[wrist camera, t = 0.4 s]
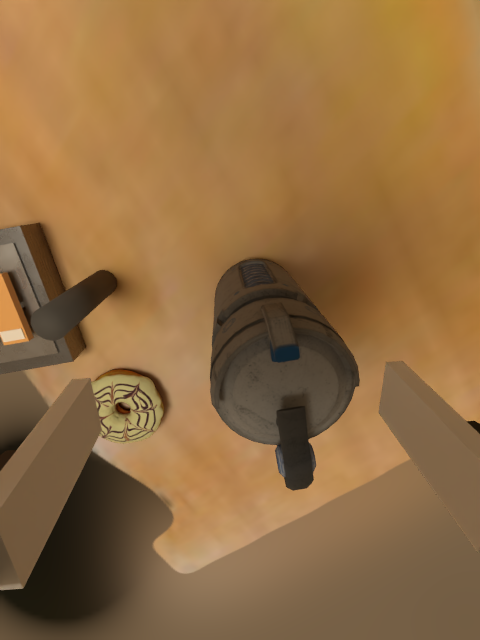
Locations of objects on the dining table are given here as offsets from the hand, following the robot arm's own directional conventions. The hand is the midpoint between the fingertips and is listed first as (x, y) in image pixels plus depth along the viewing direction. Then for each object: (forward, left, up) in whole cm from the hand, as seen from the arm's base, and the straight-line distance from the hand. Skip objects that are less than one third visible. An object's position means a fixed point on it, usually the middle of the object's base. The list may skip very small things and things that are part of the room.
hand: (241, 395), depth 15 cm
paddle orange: (-1, -24, -22) cm, 33 cm away
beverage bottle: (+5, +3, -28) cm, 29 cm away
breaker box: (-1, -26, -28) cm, 38 cm away
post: (-1, -15, -28) cm, 32 cm away
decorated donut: (+16, -17, -28) cm, 37 cm away
